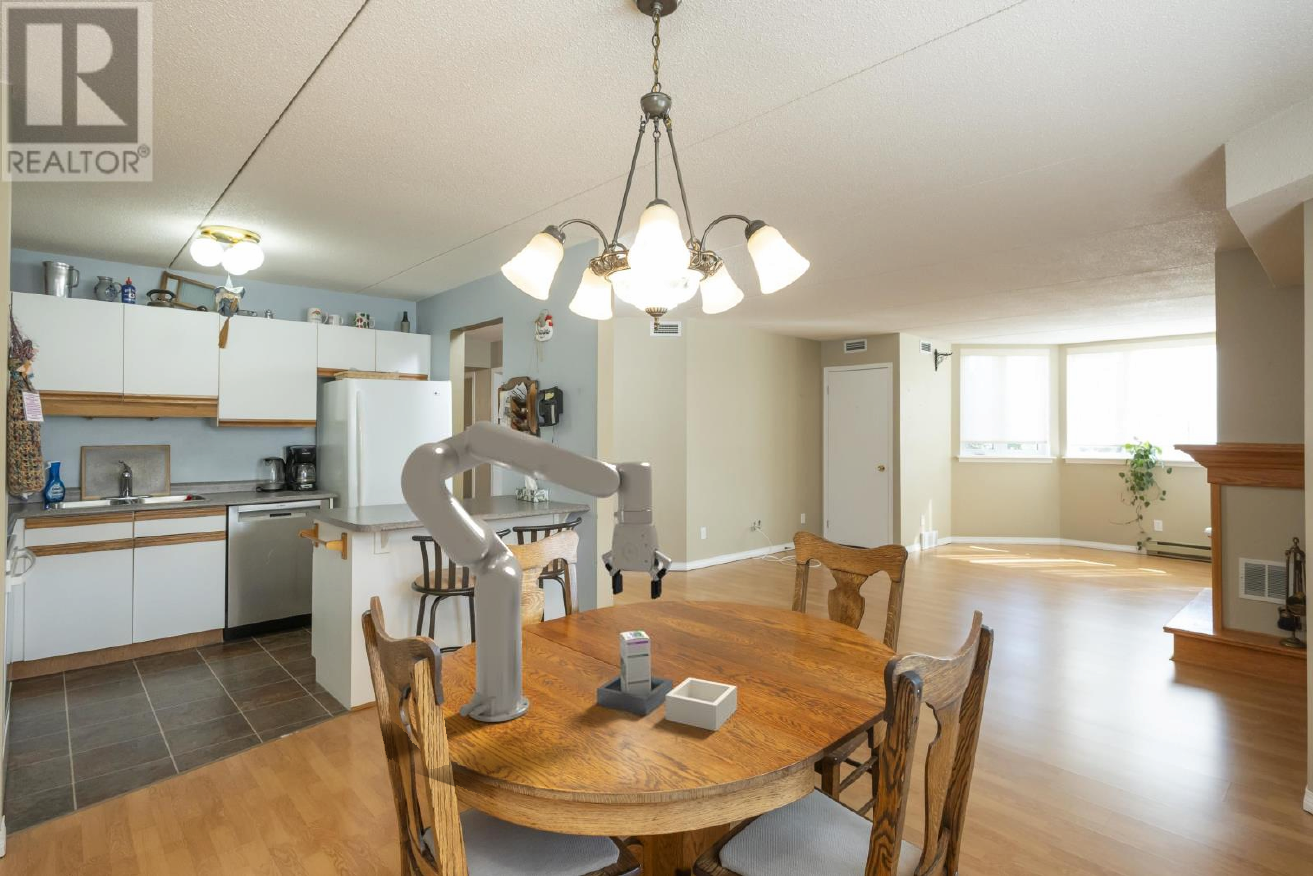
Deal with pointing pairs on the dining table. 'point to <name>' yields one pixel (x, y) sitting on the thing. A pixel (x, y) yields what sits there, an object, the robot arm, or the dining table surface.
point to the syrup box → (635, 663)
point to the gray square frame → (634, 696)
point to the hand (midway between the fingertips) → (636, 595)
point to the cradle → (701, 703)
